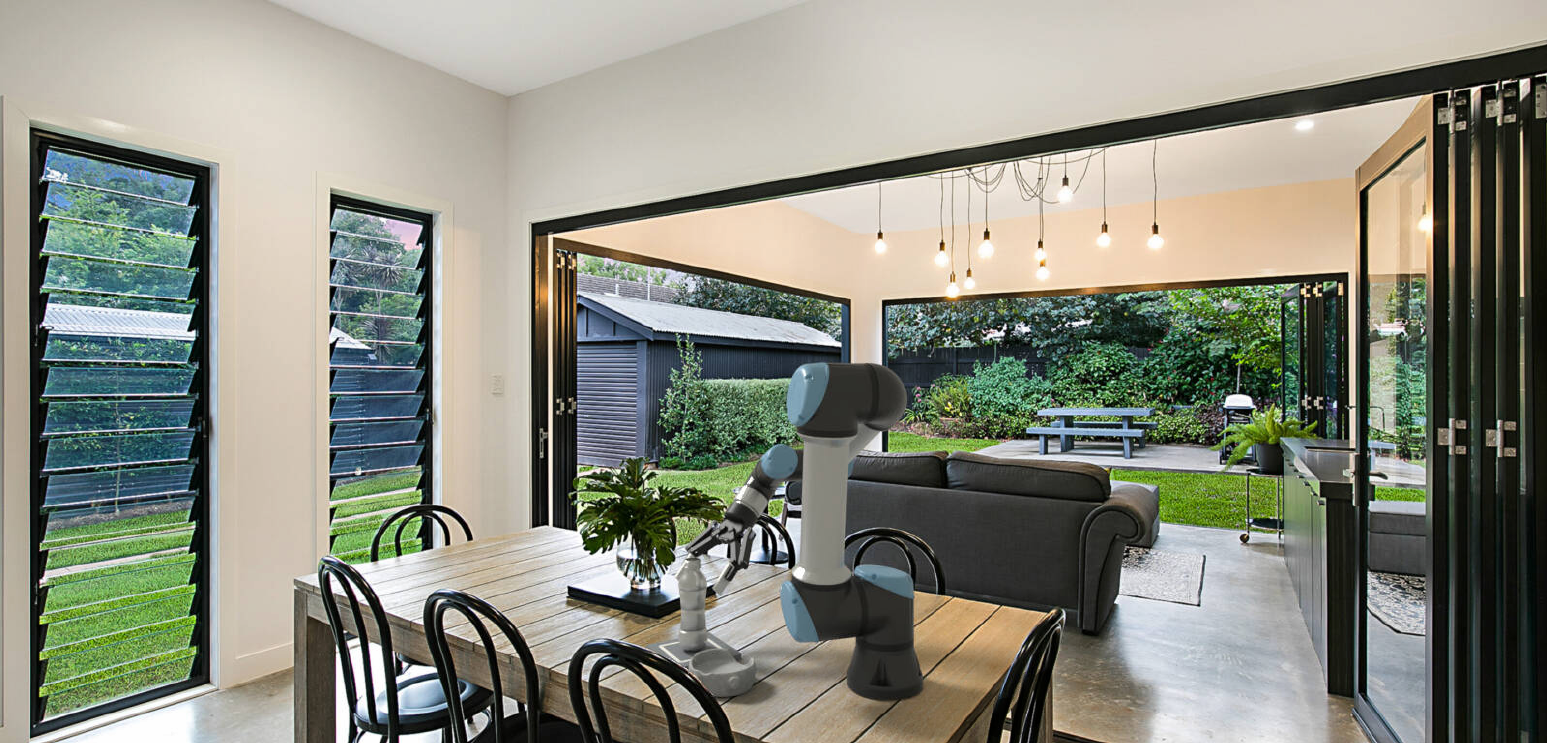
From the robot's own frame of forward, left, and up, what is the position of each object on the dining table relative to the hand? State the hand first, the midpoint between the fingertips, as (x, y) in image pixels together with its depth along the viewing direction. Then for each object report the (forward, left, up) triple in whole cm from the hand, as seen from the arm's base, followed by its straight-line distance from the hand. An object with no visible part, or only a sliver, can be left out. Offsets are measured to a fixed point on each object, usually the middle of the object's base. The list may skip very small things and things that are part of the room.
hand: (696, 586), depth 165 cm
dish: (-18, +3, -15) cm, 24 cm away
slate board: (-1, +1, -15) cm, 15 cm away
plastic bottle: (-1, +1, -14) cm, 14 cm away
